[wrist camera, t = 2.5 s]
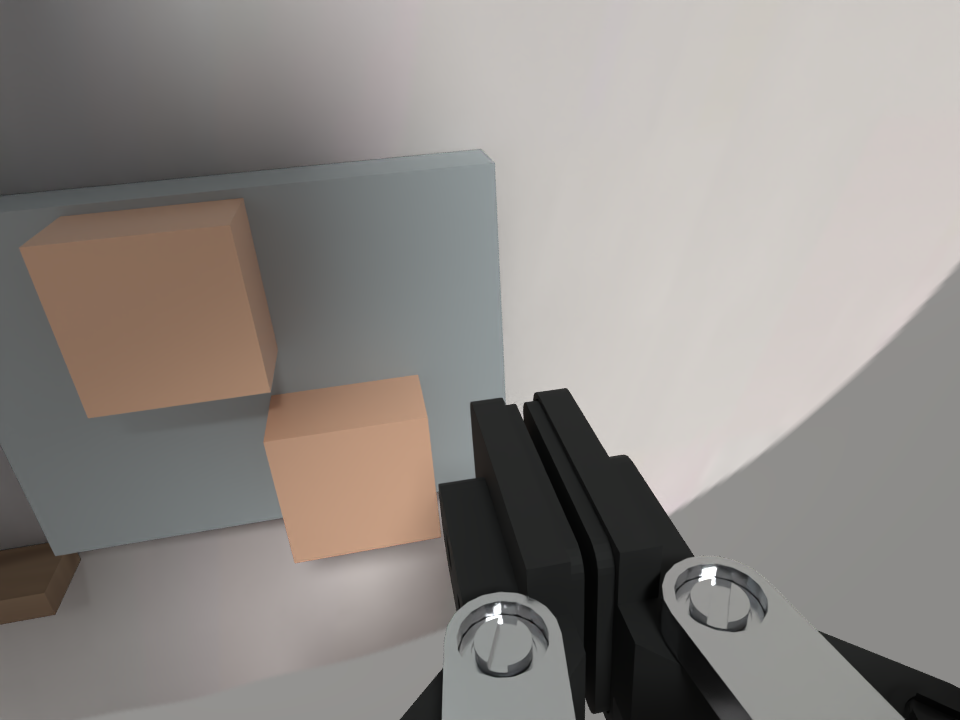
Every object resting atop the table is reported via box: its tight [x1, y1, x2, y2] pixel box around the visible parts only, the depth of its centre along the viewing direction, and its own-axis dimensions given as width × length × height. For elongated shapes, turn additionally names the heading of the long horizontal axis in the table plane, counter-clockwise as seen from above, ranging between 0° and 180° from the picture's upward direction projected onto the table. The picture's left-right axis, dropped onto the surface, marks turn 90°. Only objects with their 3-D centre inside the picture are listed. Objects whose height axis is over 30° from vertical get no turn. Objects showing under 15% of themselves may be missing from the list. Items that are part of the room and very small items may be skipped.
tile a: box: [19, 198, 278, 418], centre depth 17 cm, size 4×4×2 cm
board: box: [0, 149, 506, 556], centre depth 21 cm, size 11×15×2 cm
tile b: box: [263, 375, 441, 563], centre depth 21 cm, size 4×4×2 cm
